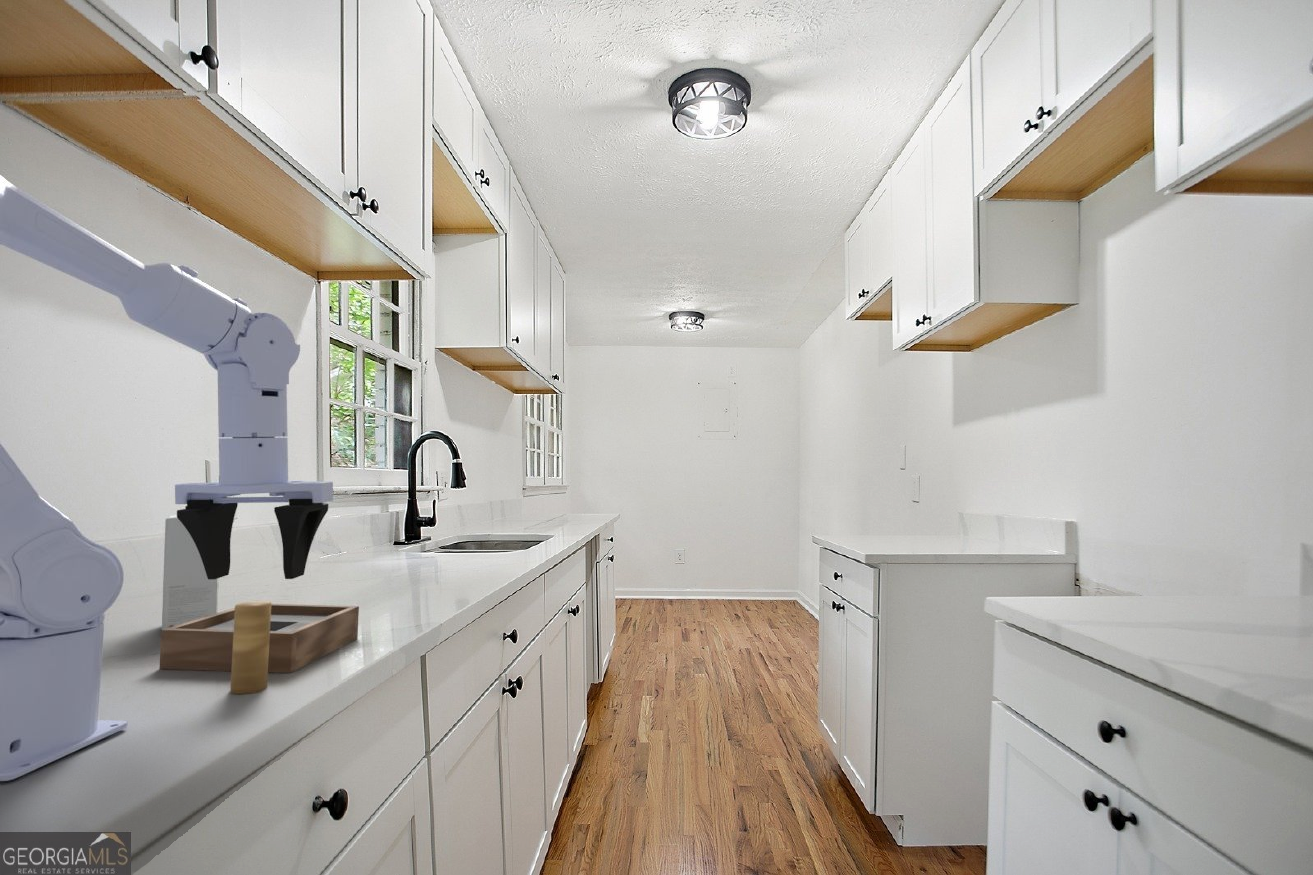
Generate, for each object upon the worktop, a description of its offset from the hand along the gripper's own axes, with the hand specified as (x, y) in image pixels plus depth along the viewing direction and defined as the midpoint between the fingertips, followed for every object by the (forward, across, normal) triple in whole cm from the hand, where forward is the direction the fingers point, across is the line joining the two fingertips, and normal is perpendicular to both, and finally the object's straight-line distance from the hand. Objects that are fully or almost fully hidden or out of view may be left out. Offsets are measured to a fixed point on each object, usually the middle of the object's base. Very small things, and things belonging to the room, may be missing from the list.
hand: (256, 577), depth 63 cm
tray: (+11, +6, -11) cm, 17 cm away
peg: (+10, 0, +1) cm, 11 cm away
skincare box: (+11, +23, -21) cm, 33 cm away
